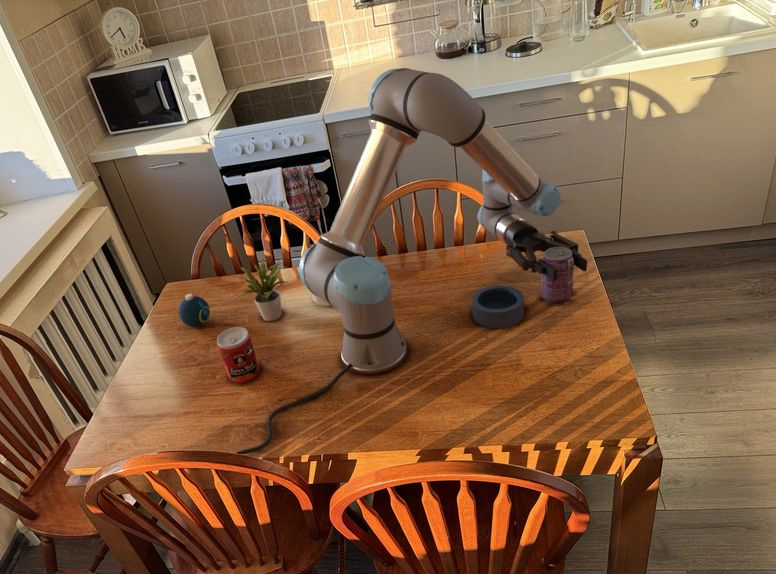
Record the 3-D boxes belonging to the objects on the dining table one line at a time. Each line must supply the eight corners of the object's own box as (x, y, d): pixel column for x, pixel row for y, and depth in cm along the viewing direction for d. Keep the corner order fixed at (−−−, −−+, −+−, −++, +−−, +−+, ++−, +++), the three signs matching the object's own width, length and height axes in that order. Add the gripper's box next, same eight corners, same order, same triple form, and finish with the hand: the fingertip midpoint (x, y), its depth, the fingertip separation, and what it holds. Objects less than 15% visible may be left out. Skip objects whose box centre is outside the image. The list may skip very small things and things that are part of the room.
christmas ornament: (192, 336, 173) (180, 305, 167) (178, 325, 179) (167, 295, 173) (219, 322, 176) (208, 291, 170) (205, 312, 182) (194, 281, 177)
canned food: (231, 387, 151) (218, 350, 145) (226, 369, 158) (214, 332, 151) (262, 378, 152) (251, 340, 146) (256, 359, 159) (245, 322, 152)
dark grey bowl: (500, 334, 149) (500, 318, 146) (462, 316, 157) (461, 301, 155) (534, 311, 154) (534, 295, 151) (495, 295, 162) (495, 280, 160)
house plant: (308, 320, 169) (295, 265, 160) (259, 338, 166) (243, 283, 157) (290, 297, 180) (278, 244, 171) (244, 314, 178) (228, 261, 168)
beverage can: (566, 287, 160) (568, 243, 153) (576, 302, 154) (579, 257, 147) (537, 292, 160) (538, 249, 153) (546, 307, 154) (547, 263, 147)
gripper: (551, 235, 169) (607, 272, 151) (482, 257, 167) (530, 297, 148) (552, 209, 165) (610, 243, 147) (481, 231, 162) (531, 269, 144)
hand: (570, 270), depth 147 cm, fingers closed on beverage can, 7 cm apart
